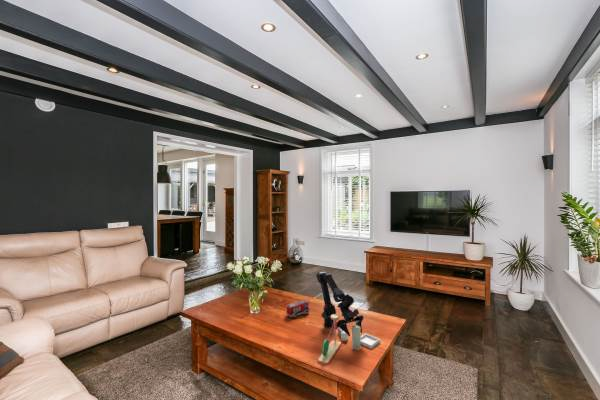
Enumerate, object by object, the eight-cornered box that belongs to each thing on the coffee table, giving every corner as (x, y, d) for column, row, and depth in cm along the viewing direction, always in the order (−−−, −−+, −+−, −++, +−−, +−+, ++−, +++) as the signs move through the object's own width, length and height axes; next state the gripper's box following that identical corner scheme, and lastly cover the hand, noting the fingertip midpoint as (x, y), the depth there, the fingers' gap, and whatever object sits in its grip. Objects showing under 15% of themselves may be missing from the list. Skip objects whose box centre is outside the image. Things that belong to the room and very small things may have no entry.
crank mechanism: (332, 341, 187) (331, 313, 186) (341, 344, 184) (341, 314, 183) (316, 362, 164) (316, 329, 164) (327, 365, 161) (327, 332, 161)
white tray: (356, 342, 186) (356, 339, 186) (365, 336, 194) (365, 333, 194) (371, 348, 178) (371, 345, 178) (380, 342, 186) (380, 339, 186)
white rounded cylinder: (341, 341, 188) (341, 334, 187) (340, 337, 192) (340, 331, 192) (348, 340, 188) (348, 334, 188) (346, 337, 192) (346, 330, 192)
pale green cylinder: (353, 350, 177) (353, 329, 176) (351, 345, 182) (351, 325, 182) (361, 349, 177) (361, 329, 177) (359, 345, 182) (359, 325, 182)
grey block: (340, 336, 193) (340, 330, 193) (337, 333, 198) (337, 327, 198) (347, 335, 194) (347, 330, 194) (344, 332, 199) (344, 326, 199)
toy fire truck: (310, 313, 230) (310, 301, 230) (291, 319, 220) (290, 306, 220) (304, 310, 238) (304, 298, 238) (285, 315, 227) (285, 303, 227)
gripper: (338, 308, 180) (348, 332, 170) (362, 302, 188) (373, 326, 178) (331, 315, 187) (341, 339, 178) (354, 310, 195) (365, 333, 186)
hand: (355, 334), depth 180 cm, fingers open, 9 cm apart
